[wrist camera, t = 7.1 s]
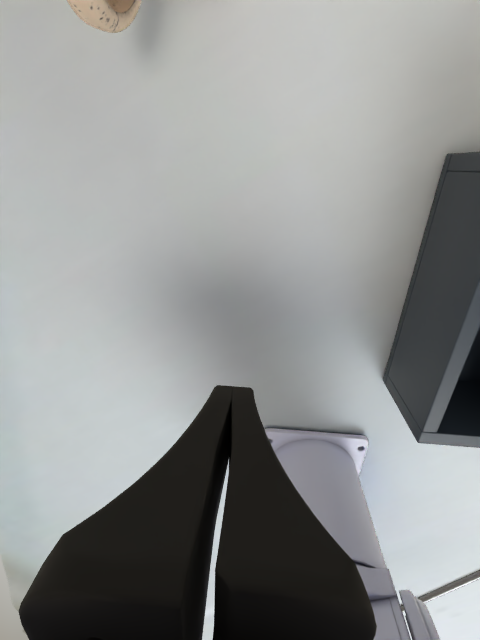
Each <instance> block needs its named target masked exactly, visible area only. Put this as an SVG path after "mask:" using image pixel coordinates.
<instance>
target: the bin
mask: <svg viewBox="0 0 480 640" xmlns="http://www.w3.org/2000/svg"><path fill="white" fill-rule="evenodd" d="M383 381H384V383H385V385H386V387H387V389H388V390H389V392H390V394H391V396H392V398H393V399H394V401H395V403H396V405H397V406H398V408H399V410H400V412H401V414H402V415H403V417H404V419H405V421H406V423H407V424H408V426H409V428H410V430H411V431H412V433H413V435H414V437H415V439H416V440H417V442H418V443H426V444H439V445H451V446H464V447H477V448H480V152H468V153H454V154H447V156H446V159H445V163H444V166H443V170H442V173H441V177H440V180H439V184H438V187H437V191H436V195H435V198H434V202H433V205H432V209H431V212H430V216H429V219H428V223H427V226H426V230H425V233H424V237H423V240H422V244H421V247H420V251H419V255H418V258H417V262H416V265H415V269H414V272H413V276H412V279H411V283H410V286H409V290H408V293H407V297H406V300H405V304H404V308H403V311H402V315H401V318H400V322H399V325H398V329H397V332H396V336H395V339H394V343H393V346H392V350H391V353H390V357H389V360H388V364H387V368H386V371H385V375H384V378H383Z"/></svg>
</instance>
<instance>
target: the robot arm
mask: <svg viewBox="0 0 480 640" xmlns="http://www.w3.org/2000/svg"><path fill="white" fill-rule="evenodd" d="M269 439H271V440H269ZM368 445H369V441H368V438H367V437H366V436H363V435H351V434H338V433H326V432H313V431H300V430H287V429H275V428H267V429H265V430H264V427H263V425H262V422H261V419H260V417H259V414H258V410H257V407H256V403H255V399H254V391H253V390H252V389H251V388H247V387H234V386H221V385H217V386H216V387H214V389H213V391H212V393H211V395H210V397H209V398H208V400H207V402H206V403H205V405H204V406H203V408H202V409H201V411H200V412H199V414H198V415H197V416H196V418H195V419H194V421H193V422H192V423H191V425H190V426H189V427H188V428H187V430H186V431H185V432H184V433H183V435H182V436H181V437H180V438H179V439H178V441H177V442H176V443H175V444H174V445H173V446H172V447H171V448H170V450H169V451H168V452H167V453H166V454H165V455H164V456H163V457H162V458H161V459H160V460H159V461H158V462H157V463H156V464H155V465H154V466H153V467H152V468H150V469H149V470H148V471H147V472H146V473H145V474H144V475H143V476H142V477H141V478H140V479H138V480H137V481H136V482H135V483H134V484H133V485H131V486H130V487H129V488H128V489H126V490H125V491H124V492H123V493H121V494H120V495H119V496H117V497H116V498H115V499H114V500H112V501H111V502H110V503H109V504H107V505H106V506H105V507H103V508H102V509H100V510H99V511H98V512H96V513H95V514H93V515H92V516H90V517H89V518H87V519H86V520H84V521H83V522H81V523H80V524H78V525H77V526H75V527H74V528H72V529H71V530H69V531H68V532H66V533H65V534H63V535H62V537H61V538H60V540H59V541H58V543H57V544H56V545H55V547H54V548H53V550H52V551H51V553H50V554H49V556H48V557H47V559H46V560H45V562H44V563H43V565H42V567H41V568H40V570H39V572H38V574H37V576H36V577H35V579H34V581H33V583H32V585H31V586H30V588H29V590H28V592H27V594H26V595H25V597H24V599H23V601H22V603H21V605H20V609H19V615H20V619H21V623H22V626H23V628H24V630H25V632H26V634H27V636H28V638H29V640H202V633H203V625H204V616H205V607H206V598H207V589H208V581H209V572H210V563H211V555H212V547H213V538H214V530H215V524H216V518H217V513H218V508H219V503H220V499H221V494H222V489H223V484H224V479H225V474H226V469H227V465H228V460H229V477H228V484H227V492H226V499H225V507H224V514H223V521H222V528H221V535H220V542H219V549H218V555H217V562H216V568H215V614H214V632H213V640H411V639H410V636H409V632H408V629H407V626H406V623H405V620H404V616H403V613H402V610H401V607H400V604H399V601H398V597H397V594H396V591H395V588H394V585H393V581H392V578H391V575H390V572H389V569H388V568H387V567H386V564H385V561H384V557H383V554H382V551H381V548H380V544H379V541H378V538H377V535H376V531H375V528H374V525H373V522H372V518H371V515H370V512H369V509H368V505H367V502H366V499H365V496H364V493H363V489H362V486H361V483H360V480H359V476H360V473H361V469H362V466H363V462H364V459H365V455H366V452H367V449H368ZM359 446H362V447H359ZM399 593H400V596H401V600H402V603H403V606H404V610H405V613H406V616H405V617H406V620H407V623H408V627H409V630H410V633H411V636H412V640H440V638H439V635H438V633H437V630H436V628H435V625H434V623H433V620H432V618H431V616H430V613H429V611H428V609H427V607H426V605H425V604H424V603H423V602H422V601H421V600H419V599H418V598H417V597H414V595H413V593H412V592H411V591H410V590H400V591H399Z"/></svg>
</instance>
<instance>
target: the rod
mask: <svg viewBox="0 0 480 640" xmlns="http://www.w3.org/2000/svg"><path fill="white" fill-rule="evenodd" d="M478 579H480V570H479V571H477V572H474V573H472V574H470V575H468V576H465V577H463V578H461V579H459V580H457V581H454V582H452V583H450V584H448V585H445V586H443V587H441V588H439V589H436V590H434V591H432V592H430V593H428V594H425V595H423V596H421V597H419V598H418V599H419V600H421V601H422V602H423V603H426V602H428V601H431V600H433V599H435V598H438V597H440V596H442V595H444V594H447V593H449V592H451V591H453V590H456V589H458V588H460V587H462V586H465V585H467V584H469V583H472V582H474V581H476V580H478ZM400 607H401V610H402V613H403V612H405V610H404V606H403V605H401V606H400Z"/></svg>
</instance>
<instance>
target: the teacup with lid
mask: <svg viewBox="0 0 480 640" xmlns="http://www.w3.org/2000/svg"><path fill="white" fill-rule="evenodd" d="M67 1H68V3H69V5H70V6H71V8H72V9H73V11H74V12H75V13H76V14H77V16H78V17H79V18H80V19H81V20H83V21H84V22H85V23H87V24H88V25H90V26H92V27H94V28H97V29H100V30H102V31H106V32H110V33H117V32H121V31H123V30H124V29H126V28H127V27H128V26H129V25H130V24H131V23H132V21H133V20H134V18H135V16H136V14H137V12H138V10H139V7H140V4H141V1H142V0H67Z"/></svg>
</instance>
